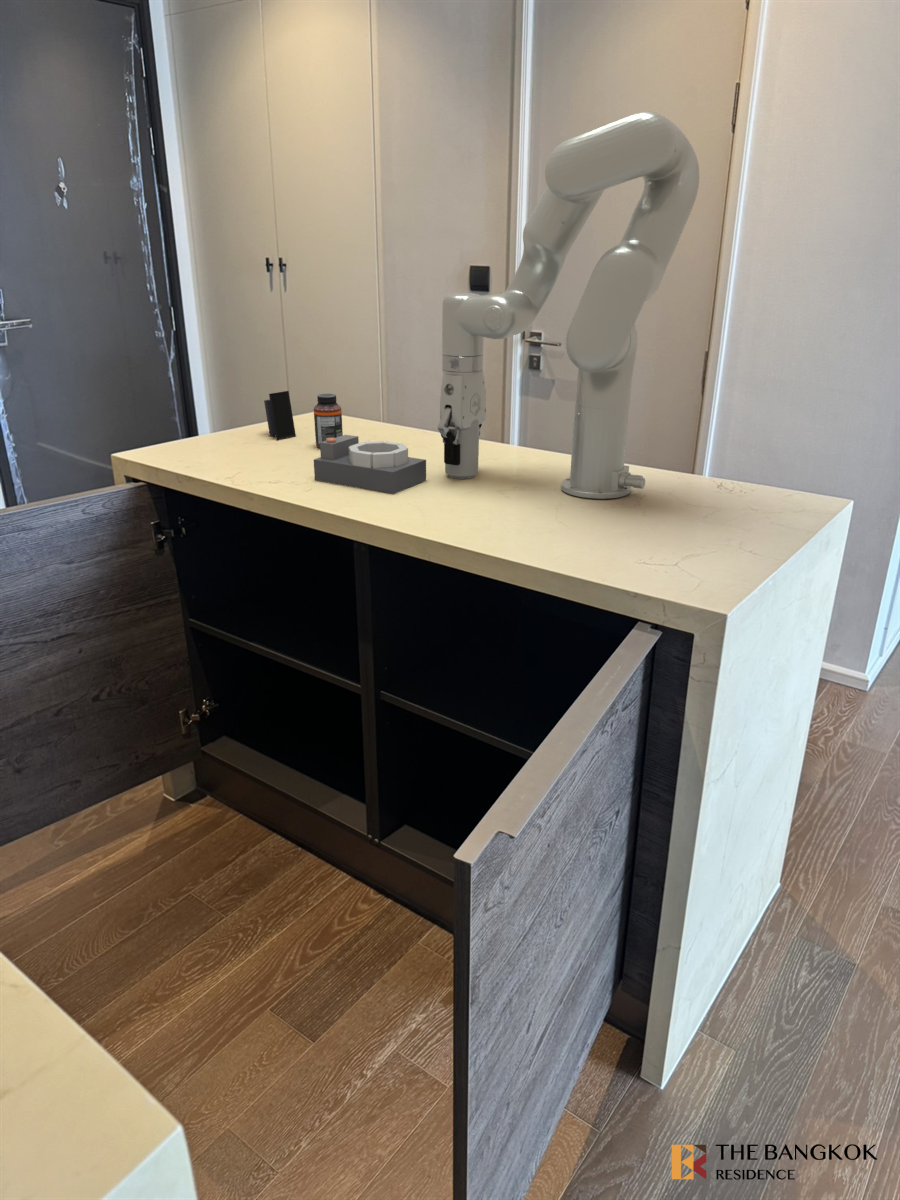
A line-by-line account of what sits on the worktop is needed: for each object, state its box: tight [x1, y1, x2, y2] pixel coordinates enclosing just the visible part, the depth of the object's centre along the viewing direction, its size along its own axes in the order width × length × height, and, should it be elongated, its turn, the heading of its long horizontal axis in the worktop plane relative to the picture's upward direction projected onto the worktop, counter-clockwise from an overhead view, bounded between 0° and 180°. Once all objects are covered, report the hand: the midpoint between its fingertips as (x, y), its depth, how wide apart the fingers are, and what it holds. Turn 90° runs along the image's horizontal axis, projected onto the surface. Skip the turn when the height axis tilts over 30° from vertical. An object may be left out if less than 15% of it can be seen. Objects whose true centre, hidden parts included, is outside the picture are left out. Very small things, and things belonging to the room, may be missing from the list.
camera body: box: [313, 434, 427, 495], centre depth 162 cm, size 18×11×8 cm, turn 59°
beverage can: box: [444, 419, 480, 480], centre depth 164 cm, size 6×6×12 cm
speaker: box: [263, 390, 297, 441], centre depth 197 cm, size 8×6×10 cm
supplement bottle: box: [313, 393, 344, 449], centre depth 187 cm, size 6×6×11 cm
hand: (461, 459), depth 165 cm, fingers closed on beverage can, 6 cm apart
